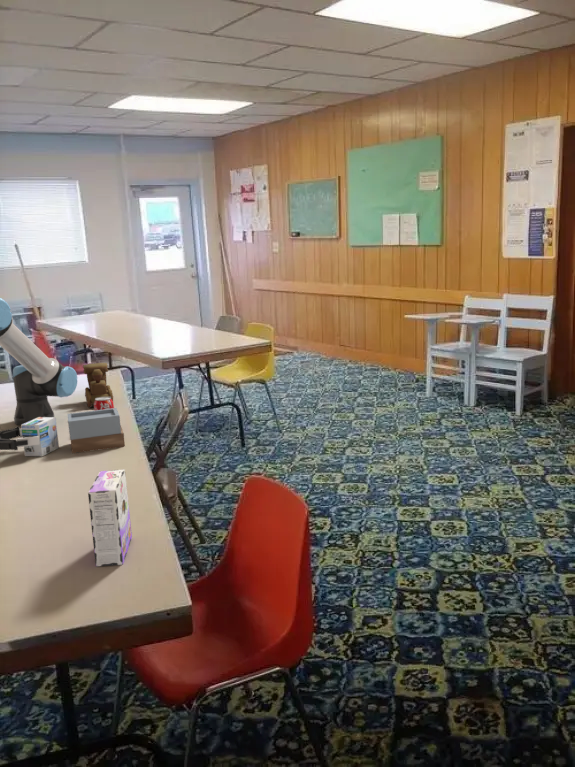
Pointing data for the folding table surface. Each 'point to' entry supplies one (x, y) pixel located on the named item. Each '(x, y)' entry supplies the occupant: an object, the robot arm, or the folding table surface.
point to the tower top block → (94, 423)
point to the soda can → (103, 403)
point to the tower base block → (98, 442)
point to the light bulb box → (41, 435)
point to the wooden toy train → (96, 382)
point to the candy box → (110, 517)
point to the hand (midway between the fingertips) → (39, 435)
